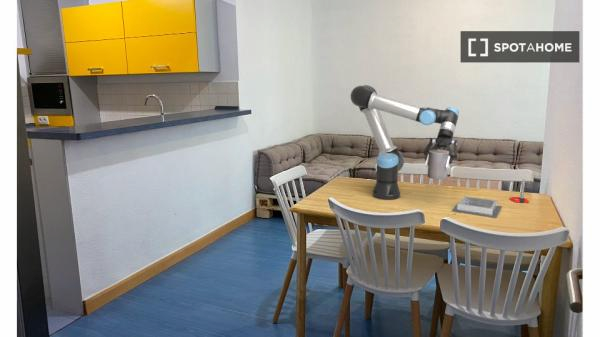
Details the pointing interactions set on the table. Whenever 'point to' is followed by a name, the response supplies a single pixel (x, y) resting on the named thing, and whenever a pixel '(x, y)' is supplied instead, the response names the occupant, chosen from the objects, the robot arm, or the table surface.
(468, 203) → the square socket
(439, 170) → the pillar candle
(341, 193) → the table surface
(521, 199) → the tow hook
